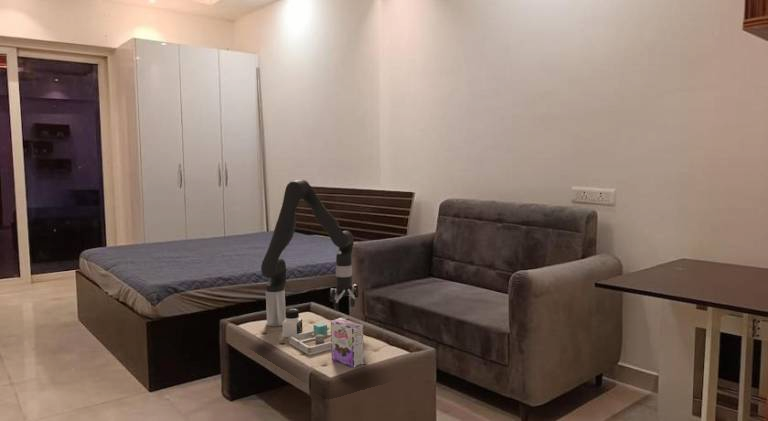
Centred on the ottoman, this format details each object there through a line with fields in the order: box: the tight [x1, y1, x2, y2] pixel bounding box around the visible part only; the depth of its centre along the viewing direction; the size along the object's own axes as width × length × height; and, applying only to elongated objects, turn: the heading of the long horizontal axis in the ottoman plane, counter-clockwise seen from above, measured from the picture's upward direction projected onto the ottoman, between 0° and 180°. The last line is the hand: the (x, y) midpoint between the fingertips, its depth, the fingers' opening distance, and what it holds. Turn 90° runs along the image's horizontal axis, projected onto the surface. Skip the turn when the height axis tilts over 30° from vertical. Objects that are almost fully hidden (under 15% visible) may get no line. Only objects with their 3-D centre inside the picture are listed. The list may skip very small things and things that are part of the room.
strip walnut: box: [304, 337, 331, 347], centre depth 241 cm, size 6×18×6 cm, turn 126°
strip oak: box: [311, 316, 350, 338], centre depth 253 cm, size 6×18×6 cm, turn 126°
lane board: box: [288, 326, 332, 356], centre depth 244 cm, size 19×20×3 cm
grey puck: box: [315, 334, 324, 344], centre depth 239 cm, size 4×4×3 cm
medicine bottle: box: [282, 308, 304, 338], centre depth 255 cm, size 7×7×12 cm
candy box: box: [330, 317, 364, 369], centre depth 222 cm, size 14×6×16 cm, turn 45°
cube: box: [313, 322, 328, 335], centre depth 250 cm, size 4×4×4 cm
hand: (344, 308), depth 257 cm, fingers open, 8 cm apart
